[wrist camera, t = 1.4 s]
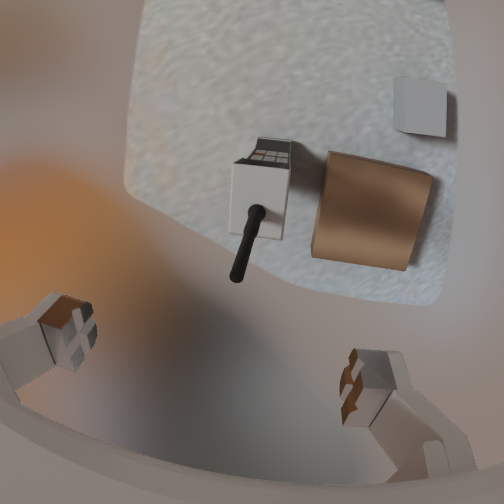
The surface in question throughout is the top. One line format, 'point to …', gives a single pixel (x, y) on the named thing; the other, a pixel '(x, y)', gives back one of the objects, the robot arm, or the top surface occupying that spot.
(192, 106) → the top surface
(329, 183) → the walnut stand
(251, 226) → the vintage mobile phone
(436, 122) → the grey plastic box
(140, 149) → the top surface
